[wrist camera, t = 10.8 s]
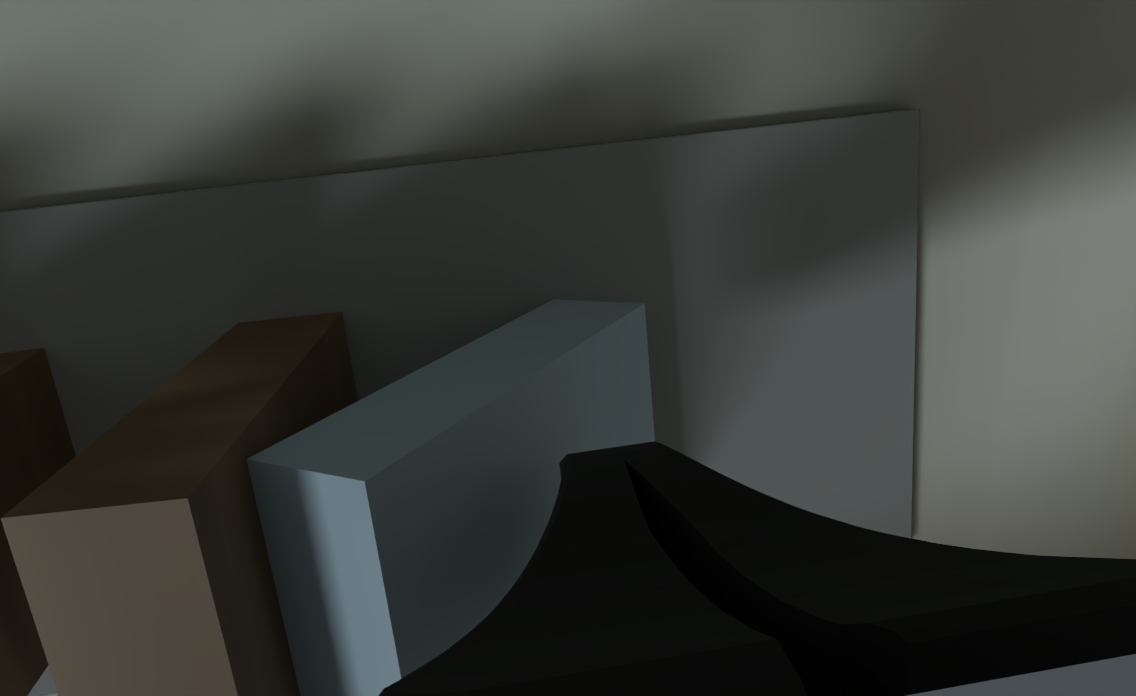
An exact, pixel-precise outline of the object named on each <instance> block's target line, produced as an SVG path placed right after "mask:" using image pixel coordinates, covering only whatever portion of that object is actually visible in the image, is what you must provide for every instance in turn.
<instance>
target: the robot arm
mask: <svg viewBox="0 0 1136 696" xmlns="http://www.w3.org/2000/svg"><path fill="white" fill-rule="evenodd" d="M559 466H560V475H561V482H560V487H559V492H558V495H557V498H556V502H555V505H554V508H553V511H552V514H551V517H550V519H549V522H548V524H547V526H546V528H545V531H544V533H543V535H542V537H541V539H540V541H539V544H538V546H537V548H536V550H535V552H534V553H533V555H532V557H531V559H530V560H529V562H528V564H527V565H526V567H525V569H524V570H523V572H522V573H521V575H520V576H519V578H518V579H517V581H516V582H515V584H514V585H513V586H512V588H511V589H510V590H509V591H508V593H507V594H506V595H505V596H504V597H503V599H502V600H501V601H500V602H499V604H498V605H497V606H496V607H495V608H494V609H493V611H492V612H491V613H490V614H489V615H488V616H487V617H486V618H485V619H483V620H482V621H481V622H480V623H479V624H478V625H477V626H476V627H475V628H473V629H472V630H471V631H470V632H469V633H468V634H466V635H465V636H464V637H463V638H461V639H460V640H459V641H458V642H456V643H455V644H454V645H452V646H451V647H450V648H449V649H447V650H446V651H444V652H443V653H442V654H440V655H439V656H437V657H436V658H434V659H432V660H431V661H429V662H428V663H426V664H424V665H423V666H421V667H420V668H418V669H416V670H415V671H413V672H411V673H410V674H408V675H407V676H405V677H403V678H402V679H400V680H398V681H397V682H395V683H393V684H391V685H389V686H388V687H386V688H384V689H383V690H382V691H381V693H380V694H379V696H1136V559H1112V558H1085V557H1058V556H1036V555H1024V554H1015V553H1006V552H997V551H987V550H978V549H970V548H963V547H957V546H950V545H943V544H937V543H931V542H926V541H921V540H916V539H911V538H906V537H901V536H896V535H891V534H887V533H882V532H878V531H874V530H870V529H866V528H862V527H858V526H855V525H851V524H848V523H845V522H841V521H838V520H835V519H832V518H828V517H825V516H822V515H818V514H815V513H812V512H809V511H807V510H804V509H801V508H798V507H795V506H793V505H790V504H788V503H785V502H783V501H781V500H778V499H776V498H773V497H771V496H768V495H766V494H763V493H761V492H759V491H757V490H754V489H752V488H750V487H748V486H745V485H743V484H741V483H739V482H737V481H735V480H733V479H731V478H729V477H727V476H725V475H723V474H721V473H719V472H717V471H715V470H713V469H711V468H709V467H707V466H705V465H703V464H701V463H699V462H697V461H695V460H693V459H691V458H690V457H688V456H686V455H684V454H682V453H680V452H678V451H676V450H674V449H672V448H670V447H668V446H666V445H663V444H661V443H658V442H655V441H653V442H646V443H639V444H633V445H626V446H619V447H612V448H605V449H598V450H591V451H585V452H578V453H571V454H566V456H565V457H564V458H563V459H562V460H561V462H560V463H559Z"/></svg>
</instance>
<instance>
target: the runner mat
mask: <svg viewBox="0 0 1136 696" xmlns="http://www.w3.org/2000/svg"><path fill="white" fill-rule="evenodd" d="M919 131H920V109H905V110H896V111H887V112H878V113H869V114H860V115H851V116H842V117H833V118H825V119H816V120H807V121H798V122H789V123H780V124H771V125H762V126H753V127H745V128H736V129H727V130H718V131H709V132H700V133H691V134H682V135H673V136H664V137H656V138H647V139H638V140H629V141H620V142H611V143H602V144H593V145H584V146H575V147H567V148H558V149H549V150H540V151H531V152H522V153H513V154H504V155H495V156H486V157H478V158H469V159H460V160H451V161H442V162H433V163H424V164H415V165H406V166H397V167H389V168H380V169H371V170H362V171H353V172H344V173H335V174H326V175H317V176H308V177H300V178H291V179H282V180H273V181H264V182H255V183H246V184H237V185H228V186H219V187H211V188H202V189H193V190H184V191H175V192H166V193H157V194H148V195H139V196H131V197H122V198H113V199H104V200H95V201H86V202H77V203H68V204H59V205H50V206H42V207H33V208H24V209H15V210H6V211H0V353H6V352H14V351H22V350H30V349H38V348H45V352H46V355H47V358H48V362H49V365H50V369H51V372H52V376H53V379H54V382H55V386H56V389H57V393H58V396H59V399H60V403H61V406H62V410H63V413H64V417H65V420H66V423H67V427H68V430H69V434H70V437H71V441H72V444H73V447H74V451H75V454H76V456H77V455H78V454H79V453H80V452H82V451H83V450H84V449H85V448H87V447H88V446H89V445H90V444H91V443H93V442H94V441H95V440H96V439H97V438H99V437H100V436H101V435H102V434H104V433H105V432H106V431H107V430H108V429H110V428H111V427H112V426H113V425H114V424H116V423H117V422H118V421H119V420H121V419H122V418H123V417H124V416H125V415H127V414H128V413H129V412H130V411H132V410H133V409H134V408H135V407H136V406H138V405H139V404H140V403H141V402H142V401H144V400H145V399H146V398H147V397H149V396H150V395H151V394H152V393H153V392H155V391H156V390H157V389H158V388H159V387H161V386H162V385H163V384H164V383H166V382H167V381H168V380H169V379H170V378H172V377H173V376H174V375H175V374H177V373H178V372H179V371H180V370H181V369H183V368H184V367H185V366H186V365H187V364H189V363H190V362H191V361H192V360H194V359H195V358H196V357H197V356H198V355H200V354H201V353H202V352H203V351H204V350H206V349H207V348H208V347H209V346H211V345H212V344H213V343H214V342H215V341H217V340H218V339H219V338H220V337H222V336H223V335H224V334H225V333H226V332H228V331H229V330H230V329H231V328H232V327H234V326H235V325H236V324H237V323H241V322H251V321H260V320H270V319H279V318H289V317H298V316H308V315H317V314H327V313H336V312H342V315H343V321H344V326H345V332H346V337H347V343H348V348H349V354H350V359H351V364H352V370H353V375H354V381H355V386H356V392H357V397H358V401H359V400H361V399H363V398H365V397H367V396H369V395H371V394H373V393H374V392H376V391H378V390H380V389H382V388H384V387H386V386H388V385H390V384H392V383H394V382H396V381H398V380H399V379H401V378H403V377H405V376H407V375H409V374H411V373H413V372H415V371H417V370H419V369H421V368H423V367H424V366H426V365H428V364H430V363H432V362H434V361H436V360H438V359H440V358H442V357H444V356H446V355H448V354H449V353H451V352H453V351H455V350H457V349H459V348H461V347H463V346H465V345H467V344H469V343H471V342H472V341H474V340H476V339H478V338H480V337H482V336H484V335H486V334H488V333H490V332H492V331H494V330H496V329H497V328H499V327H501V326H503V325H505V324H507V323H509V322H511V321H513V320H515V319H517V318H519V317H521V316H522V315H524V314H526V313H528V312H530V311H532V310H534V309H536V308H538V307H540V306H542V305H544V304H546V303H547V302H549V301H551V300H553V299H557V300H580V301H603V302H627V303H645V316H646V330H647V343H648V356H649V369H650V383H651V396H652V409H653V423H654V436H655V442H658V443H661V444H663V445H666V446H668V447H670V448H672V449H674V450H676V451H678V452H680V453H682V454H684V455H686V456H688V457H690V458H691V459H693V460H695V461H697V462H699V463H701V464H703V465H705V466H707V467H709V468H711V469H713V470H715V471H717V472H719V473H721V474H723V475H725V476H727V477H729V478H731V479H733V480H735V481H737V482H739V483H741V484H743V485H745V486H748V487H750V488H752V489H754V490H757V491H759V492H761V493H763V494H766V495H768V496H771V497H773V498H776V499H778V500H781V501H783V502H785V503H788V504H790V505H793V506H795V507H798V508H801V509H804V510H807V511H809V512H812V513H815V514H818V515H822V516H825V517H828V518H832V519H835V520H838V521H841V522H845V523H848V524H851V525H855V526H858V527H862V528H866V529H870V530H874V531H878V532H882V533H887V534H891V535H896V536H901V537H906V538H911V514H912V466H913V419H914V371H915V323H916V275H917V227H918V179H919ZM54 693H58V692H57V689H56V686H55V683H54V680H53V676H52V673H51V670H50V667H49V665H48V667H47V668H46V670H45V671H44V672H43V674H42V675H41V677H40V678H39V680H38V681H37V683H36V684H35V686H34V687H33V688H32V690H31V691H30V693H29V694H28V696H42V695H48V694H54Z"/></svg>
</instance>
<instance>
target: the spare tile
mask: <svg viewBox="0 0 1136 696" xmlns="http://www.w3.org/2000/svg"><path fill="white" fill-rule="evenodd" d="M653 441H655V436H654V423H653V409H652V396H651V383H650V369H649V356H648V343H647V330H646V316H645V303H627V302H603V301H580V300H557V299H553V300H551V301H549V302H547V303H546V304H544V305H542V306H540V307H538V308H536V309H534V310H532V311H530V312H528V313H526V314H524V315H522V316H521V317H519V318H517V319H515V320H513V321H511V322H509V323H507V324H505V325H503V326H501V327H499V328H497V329H496V330H494V331H492V332H490V333H488V334H486V335H484V336H482V337H480V338H478V339H476V340H474V341H472V342H471V343H469V344H467V345H465V346H463V347H461V348H459V349H457V350H455V351H453V352H451V353H449V354H448V355H446V356H444V357H442V358H440V359H438V360H436V361H434V362H432V363H430V364H428V365H426V366H424V367H423V368H421V369H419V370H417V371H415V372H413V373H411V374H409V375H407V376H405V377H403V378H401V379H399V380H398V381H396V382H394V383H392V384H390V385H388V386H386V387H384V388H382V389H380V390H378V391H376V392H374V393H373V394H371V395H369V396H367V397H365V398H363V399H361V400H359V401H357V402H355V403H353V404H351V405H350V406H348V407H346V408H344V409H342V410H340V411H338V412H336V413H334V414H332V415H330V416H328V417H326V418H325V419H323V420H321V421H319V422H317V423H315V424H313V425H311V426H309V427H307V428H305V429H303V430H301V431H300V432H298V433H296V434H294V435H292V436H290V437H288V438H286V439H284V440H282V441H280V442H278V443H276V444H275V445H273V446H271V447H269V448H267V449H265V450H263V451H261V452H259V453H257V454H255V455H253V456H251V457H250V458H248V459H246V460H247V465H248V469H249V473H250V478H251V482H252V487H253V491H254V495H255V500H256V504H257V508H258V513H259V517H260V522H261V526H262V530H263V535H264V539H265V543H266V548H267V552H268V556H269V561H270V565H271V570H272V574H273V578H274V583H275V587H276V591H277V596H278V600H279V604H280V609H281V613H282V618H283V622H284V626H285V631H286V635H287V639H288V644H289V648H290V653H291V657H292V661H293V666H294V670H295V674H296V679H297V683H298V687H299V692H300V696H379V694H380V693H381V691H382V690H383V689H384V688H386V687H388V686H389V685H391V684H393V683H395V682H397V681H398V680H400V679H402V678H403V677H405V676H407V675H408V674H410V673H411V672H413V671H415V670H416V669H418V668H420V667H421V666H423V665H424V664H426V663H428V662H429V661H431V660H432V659H434V658H436V657H437V656H439V655H440V654H442V653H443V652H444V651H446V650H447V649H449V648H450V647H451V646H452V645H454V644H455V643H456V642H458V641H459V640H460V639H461V638H463V637H464V636H465V635H466V634H468V633H469V632H470V631H471V630H472V629H473V628H475V627H476V626H477V625H478V624H479V623H480V622H481V621H482V620H483V619H485V618H486V617H487V616H488V615H489V614H490V613H491V612H492V611H493V609H494V608H495V607H496V606H497V605H498V604H499V602H500V601H501V600H502V599H503V597H504V596H505V595H506V594H507V593H508V591H509V590H510V589H511V588H512V586H513V585H514V584H515V582H516V581H517V579H518V578H519V576H520V575H521V573H522V572H523V570H524V569H525V567H526V565H527V564H528V562H529V560H530V559H531V557H532V555H533V553H534V552H535V550H536V548H537V546H538V544H539V541H540V539H541V537H542V535H543V533H544V531H545V528H546V526H547V524H548V522H549V519H550V517H551V514H552V511H553V508H554V505H555V502H556V498H557V495H558V492H559V487H560V482H561V475H560V466H559V463H560V462H561V460H562V459H563V458H564V457H565V456H566V454H571V453H578V452H585V451H591V450H598V449H605V448H612V447H619V446H626V445H633V444H639V443H646V442H653Z"/></svg>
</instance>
